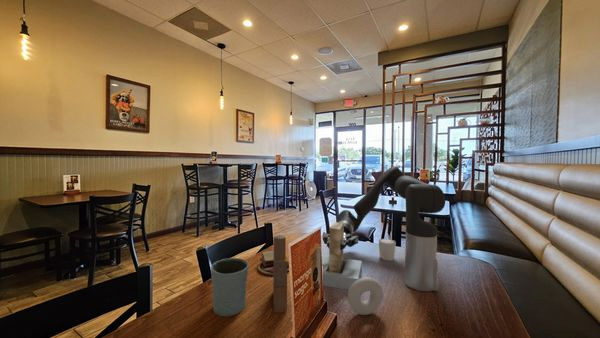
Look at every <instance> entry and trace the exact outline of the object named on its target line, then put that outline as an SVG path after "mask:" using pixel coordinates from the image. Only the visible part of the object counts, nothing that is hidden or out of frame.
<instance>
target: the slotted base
mask: <svg viewBox="0 0 600 338" xmlns="http://www.w3.org/2000/svg"><path fill="white" fill-rule="evenodd" d="M321 256H322V266H323V285H324V286H323V287H328V288H334V289H339V290H345V291H349V289H350V287H351V286H352V284H353V283H354V282H355V281H357V280H358V279H360V278H362V277H361V276H362V268H363V267H362V266H363V265H362V264H363V261H362V260H357V259H350V258H348V259H347V258H343V268H342V270H341V273H334V272H329V255H321Z"/></svg>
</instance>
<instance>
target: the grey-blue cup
mask: <svg viewBox="0 0 600 338" xmlns="http://www.w3.org/2000/svg"><path fill="white" fill-rule="evenodd" d="M210 274H211V275H210V277H211V285H212V287H211V288H212V290H211V291H212V309H213V312H214V314H216V315H217V316H220V317H231V316H234V315H238V314H240V313H241V312H242V311H243V310H244V308H245V307H246V299H247V286H248V285H247V284H248V283H247V281H248V274H249V261H247V260H245V259H243V258H239V257H238V258H237V257H229V258H223V259H220V260H217V261H215V262H213V263H212V264H211V266H210Z"/></svg>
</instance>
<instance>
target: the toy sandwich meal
mask: <svg viewBox="0 0 600 338" xmlns="http://www.w3.org/2000/svg"><path fill="white" fill-rule="evenodd" d="M259 260H260V262H259V264H258V266H257V269H258V271H259V272H261V273H262V274H264V275H266V276H267V275H269V276H273V272H274V250H266V251H265V250H264V251H263V252H261V257H259ZM285 261H287V272H289V271H290V270H289V263H290V261H289V259H288V257H287V255H286V256H285Z"/></svg>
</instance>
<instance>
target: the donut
mask: <svg viewBox="0 0 600 338" xmlns="http://www.w3.org/2000/svg"><path fill="white" fill-rule="evenodd" d="M365 292H369V293H370V294H369V296H368V298H366V300H362V295H363V294H364V293H365ZM383 298H384V291H383V287H382V285H381V284H380V283H379V281H377V280H376V279H375V278H373V277H369V276H368V277H367V276H366V277H365V276H364V277H360V279H358V280H357V281H355V282H354V283H353V284H352V286H351V287H350V289H349V290H348V294H347V303H348V305H349V307H350V309H351V310H352V311H354V312H355V313H356V314H358V315H361V316H368V315H371V314H374V313H375V312H376V311H377V310H378V309H379V308H380V306H381V305H382V303H383V301H384V300H383Z"/></svg>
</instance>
